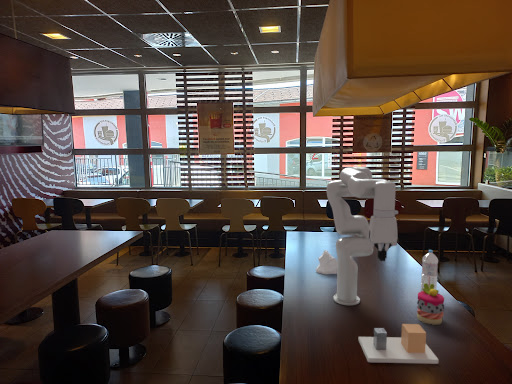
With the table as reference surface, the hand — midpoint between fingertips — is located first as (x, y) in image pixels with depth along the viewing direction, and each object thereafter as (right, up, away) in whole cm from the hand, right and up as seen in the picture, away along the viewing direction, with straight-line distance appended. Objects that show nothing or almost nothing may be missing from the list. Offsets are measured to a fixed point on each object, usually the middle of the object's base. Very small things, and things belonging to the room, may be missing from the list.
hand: (381, 260), depth 136 cm
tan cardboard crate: (+9, -31, -7) cm, 33 cm away
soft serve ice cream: (-6, -22, +76) cm, 79 cm away
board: (+3, -32, -7) cm, 33 cm away
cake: (+27, -29, +17) cm, 43 cm away
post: (-3, -32, -7) cm, 33 cm away
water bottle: (+36, -27, +36) cm, 57 cm away
